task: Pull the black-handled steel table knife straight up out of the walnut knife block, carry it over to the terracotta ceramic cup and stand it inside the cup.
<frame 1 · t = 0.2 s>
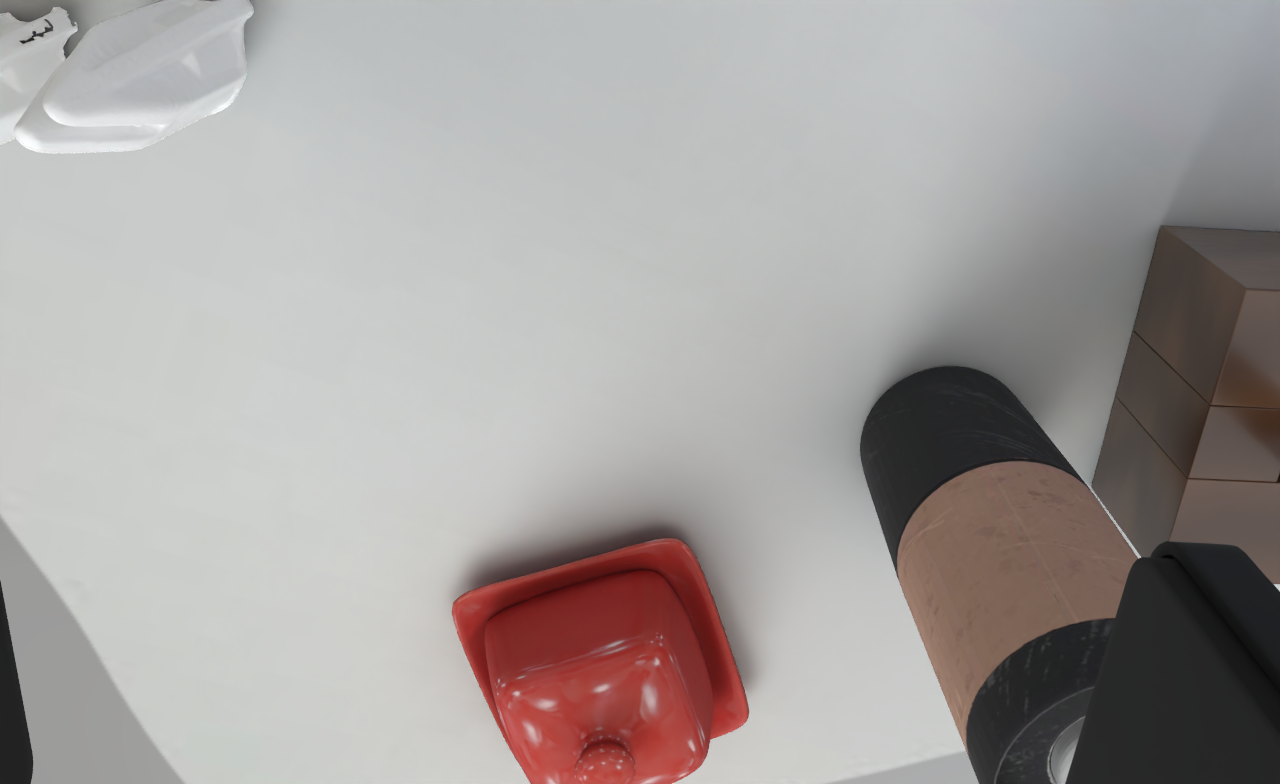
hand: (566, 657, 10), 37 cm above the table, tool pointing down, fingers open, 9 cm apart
travel mug: (940, 438, 51), on the table
knife block: (1217, 367, 50), on the table
shaker set: (117, 58, 43), on the table
butter dish: (604, 644, 55), on the table
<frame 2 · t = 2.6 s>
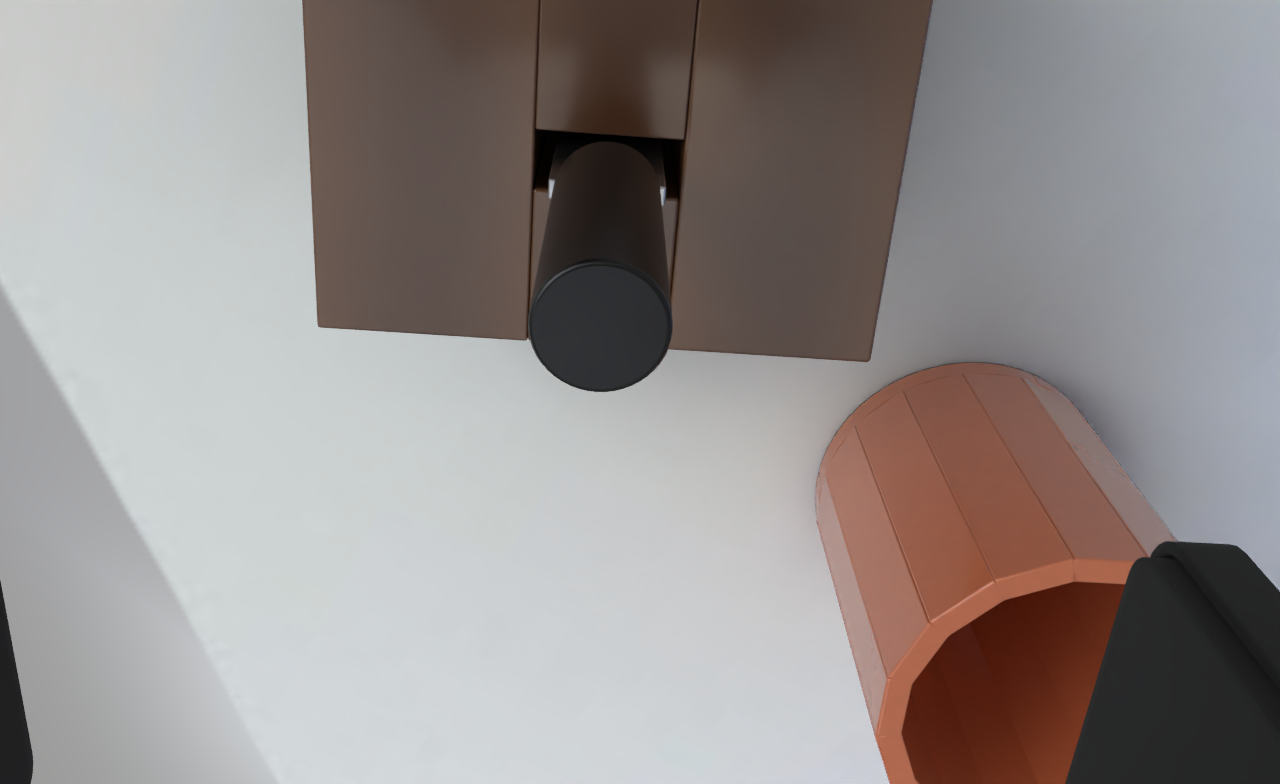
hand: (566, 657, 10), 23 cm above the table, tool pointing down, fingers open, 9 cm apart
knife: (607, 175, 23), in the knife block
cup: (955, 489, 35), on the table
knife block: (611, 92, 30), on the table
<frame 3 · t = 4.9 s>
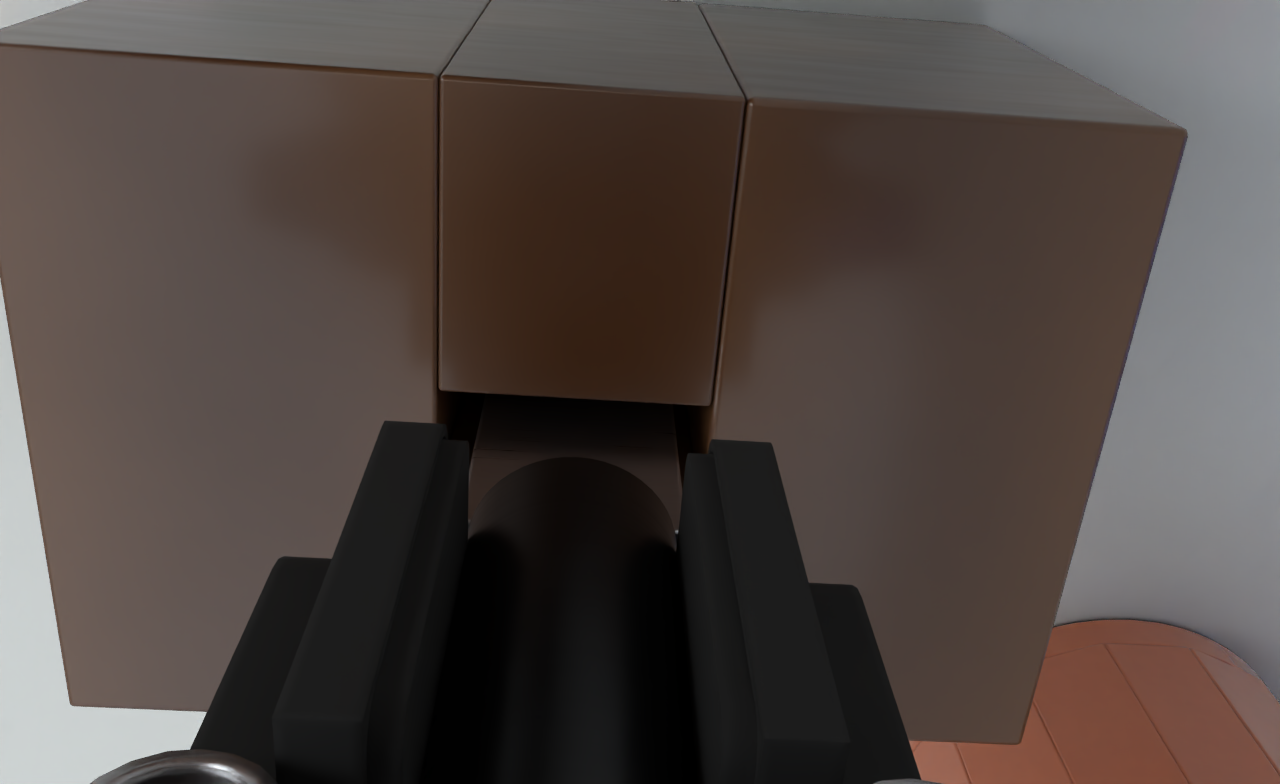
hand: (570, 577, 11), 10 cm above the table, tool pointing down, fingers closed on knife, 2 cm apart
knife: (575, 479, 13), in the knife block, touching gripper
cup: (1079, 782, 25), on the table
knife block: (583, 248, 20), on the table
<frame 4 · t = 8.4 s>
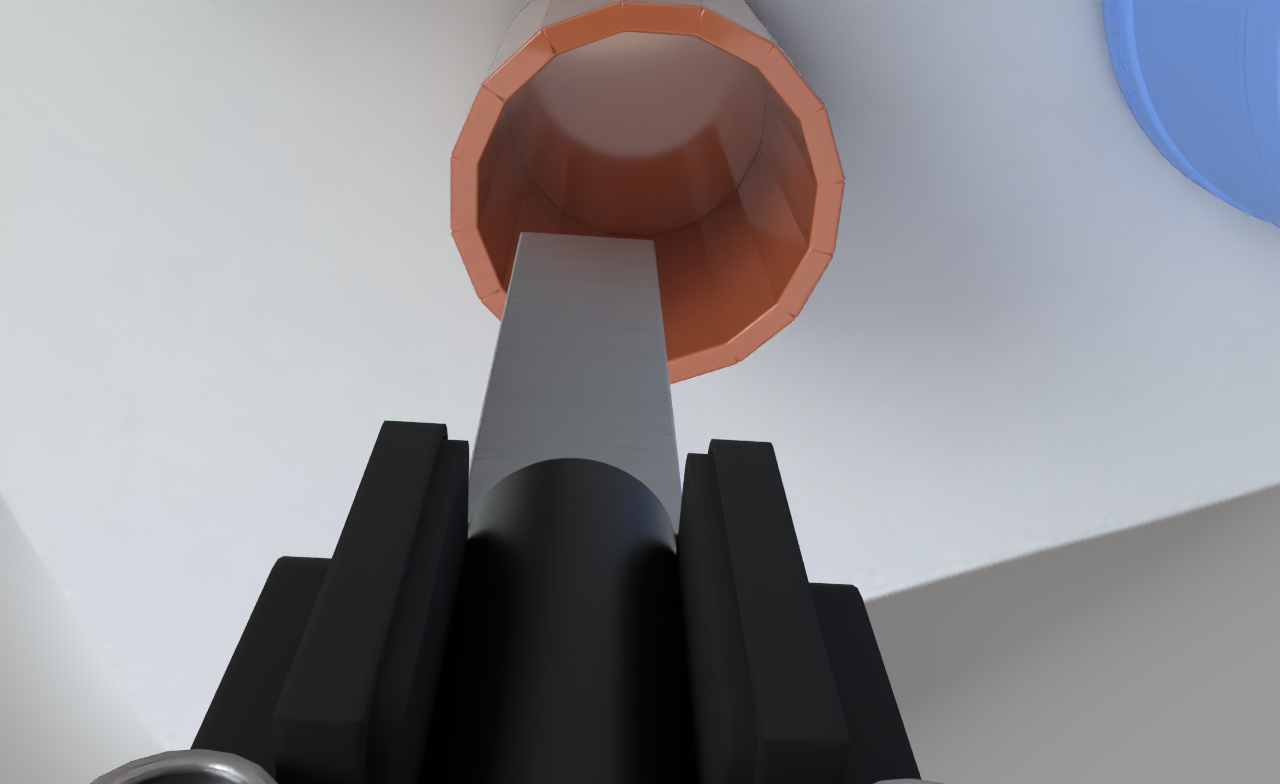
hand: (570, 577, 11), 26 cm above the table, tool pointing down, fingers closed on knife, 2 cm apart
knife: (574, 480, 13), point 24 cm above the table, touching gripper
cup: (637, 106, 34), on the table
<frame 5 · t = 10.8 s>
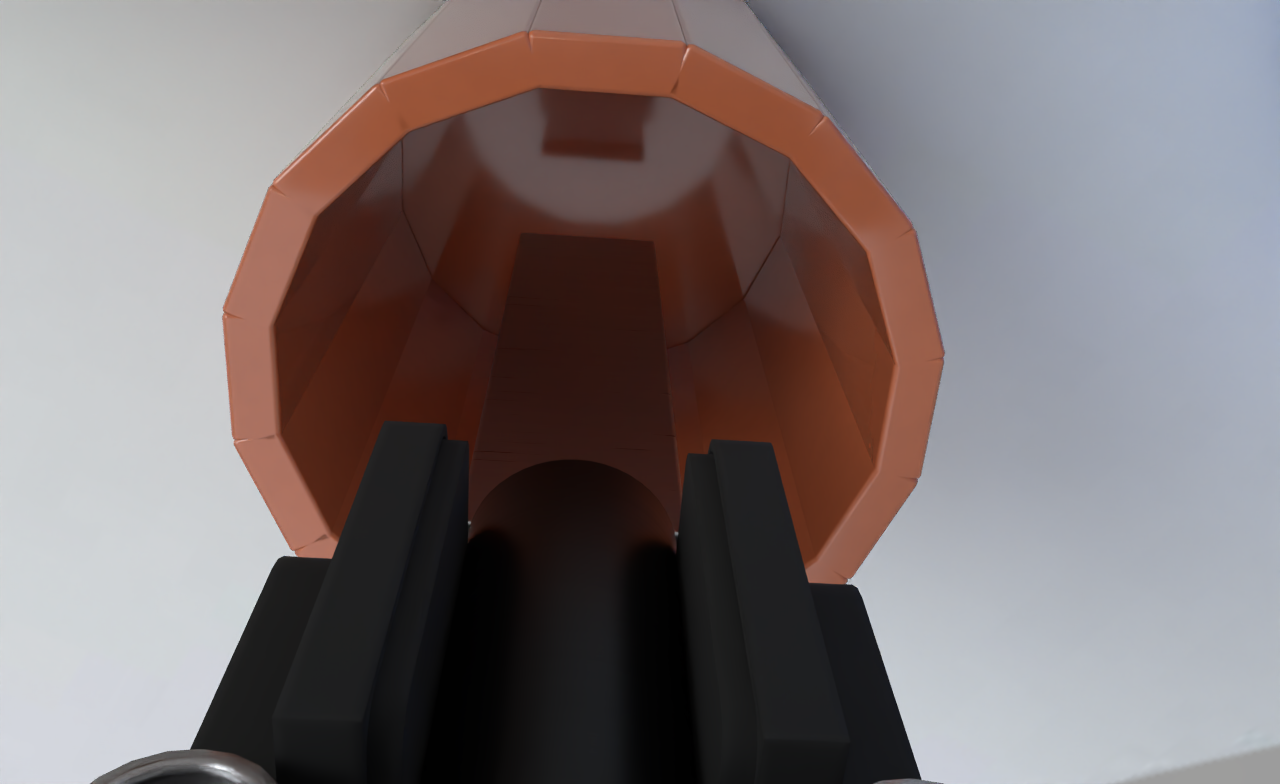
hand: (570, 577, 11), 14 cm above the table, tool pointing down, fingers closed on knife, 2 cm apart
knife: (575, 481, 13), point 12 cm above the table, touching gripper
cup: (595, 174, 23), on the table
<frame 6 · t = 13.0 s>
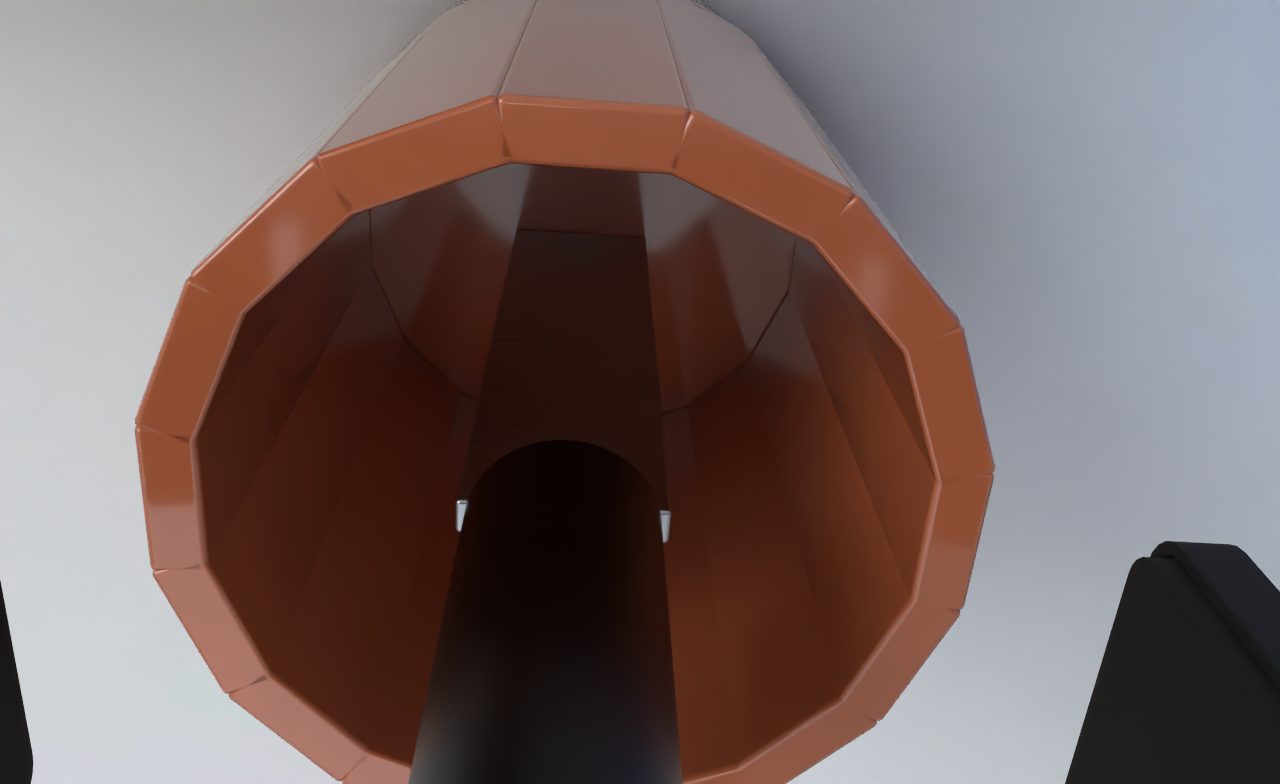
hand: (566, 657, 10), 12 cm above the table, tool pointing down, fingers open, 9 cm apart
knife: (566, 463, 13), in the cup, point 8 cm above the table
cup: (585, 223, 21), on the table, touching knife
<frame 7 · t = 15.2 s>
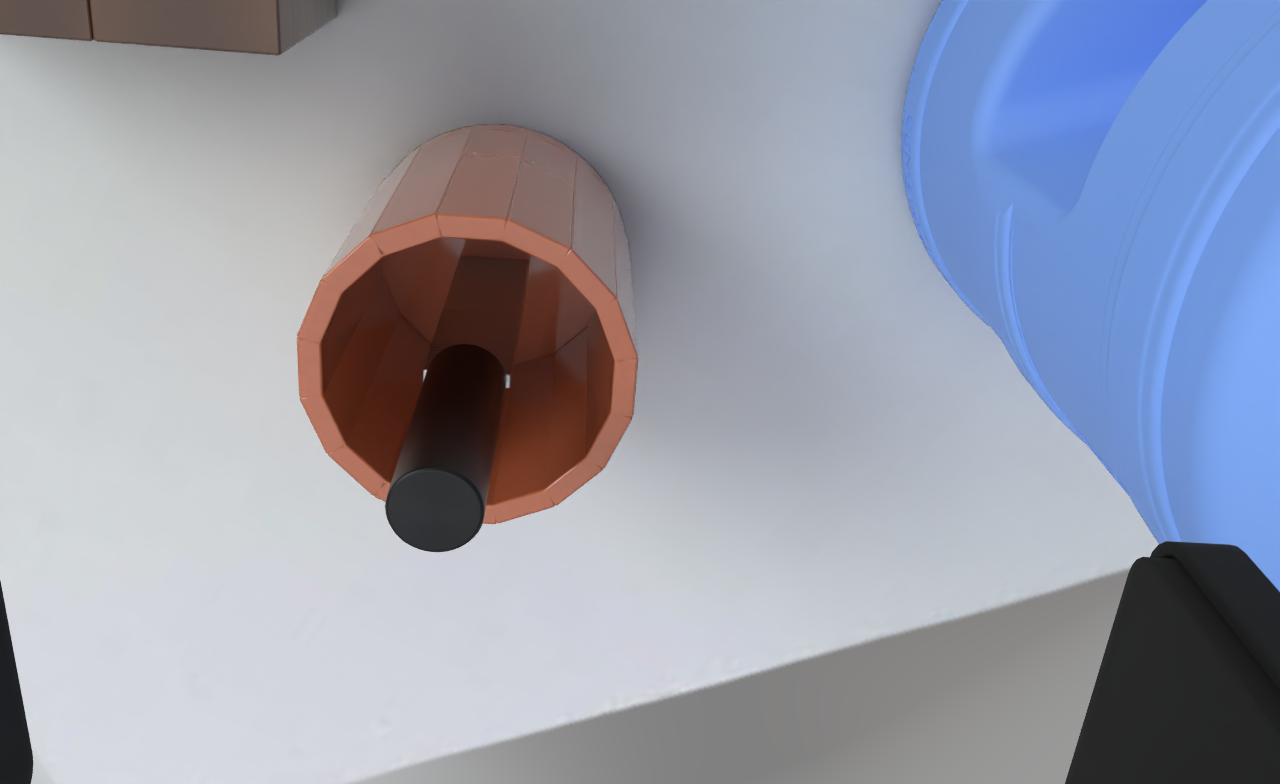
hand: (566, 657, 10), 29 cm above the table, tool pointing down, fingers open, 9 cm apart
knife: (471, 359, 31), in the cup, point 8 cm above the table
cup: (498, 252, 39), on the table, touching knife
water jug: (1137, 112, 38), on the table
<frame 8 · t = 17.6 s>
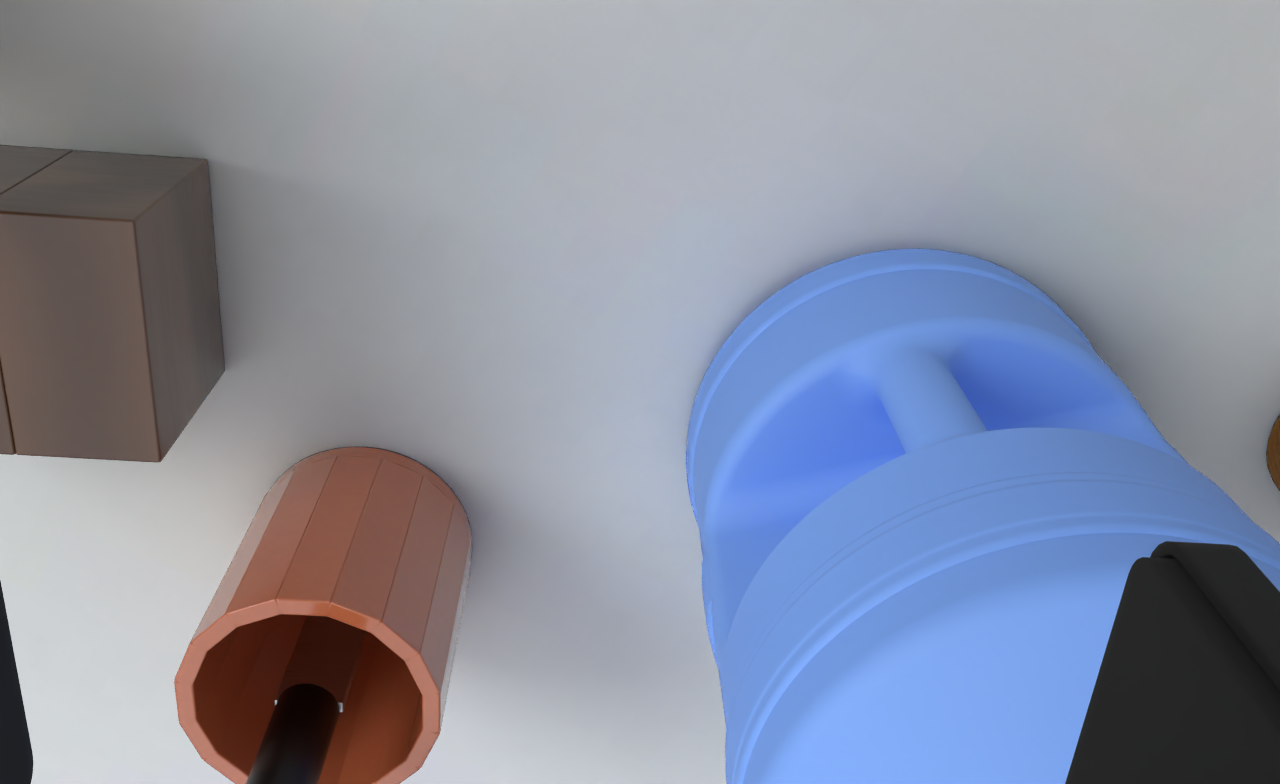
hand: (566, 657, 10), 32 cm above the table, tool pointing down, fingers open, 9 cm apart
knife: (317, 681, 39), in the cup, point 8 cm above the table
cup: (366, 539, 47), on the table, touching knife
knife block: (44, 258, 42), on the table
water jug: (886, 432, 46), on the table
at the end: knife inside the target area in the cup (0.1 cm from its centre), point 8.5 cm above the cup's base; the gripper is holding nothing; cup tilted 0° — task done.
